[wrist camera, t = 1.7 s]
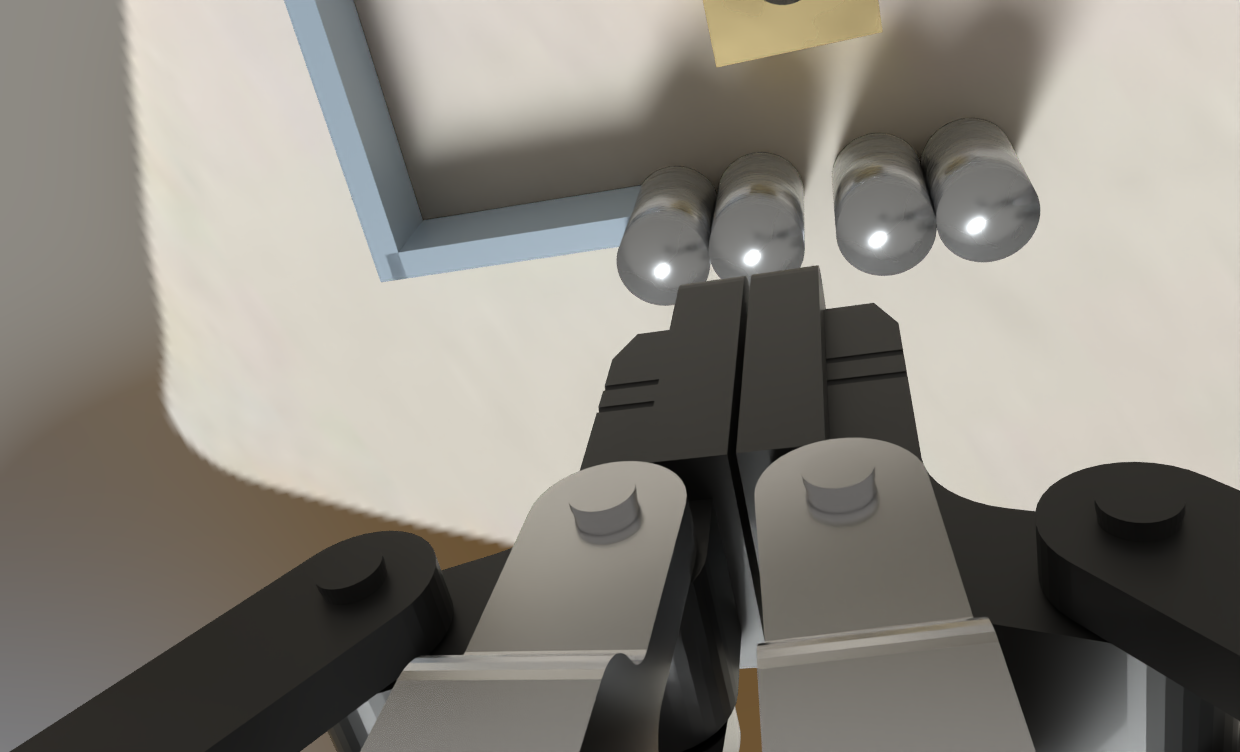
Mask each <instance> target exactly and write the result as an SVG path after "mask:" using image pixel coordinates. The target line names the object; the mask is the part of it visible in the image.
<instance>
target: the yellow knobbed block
mask: <svg viewBox="0 0 1240 752" xmlns="http://www.w3.org/2000/svg"><path fill="white" fill-rule="evenodd" d="M703 4H704V9H705V14H706V18H707V23H708V28H709V33H710V38H711V43H712V48H713V53H714V57H715V62H716V67H722V66H726V65H731V64H736V63H740V62H745V61H750V60H754V59H759V58H764V57H769V56H773V55H778V54H783V53H787V52H792V51H797V50H801V49H806V48H811V47H815V46H820V45H825V44H829V43H834V42H839V41H844V40H848V39H853V38H858V37H862V36H867V35H872V34H876V33H881V32H882V25H881V17H880V10H879V2H878V0H703Z"/></svg>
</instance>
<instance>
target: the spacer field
mask: <svg viewBox="0 0 1240 752" xmlns="http://www.w3.org/2000/svg"><path fill="white" fill-rule="evenodd" d="M832 186H833V199H834V212H835V225H836V237H837V243H838V246H839V249H840V251H841V253H842V255H843V256H844V257H845V259H846V260H847V261H848V262H849V263H850V264H851V265H853V266H854V267H855V268H857V269H859V270H860V271H863V272H865V273H868V274H872V275H878V276H888V275H895V274H899V273H902V272H905V271H907V270H909V269H911V268H913V267H914V266H916V265H917V264H918V263H920V262H921V261H922V260H923V259H924V258H925V256H926V255H927V254H928V253H929V251H930V249H931V248H932V245H933V243H934V240H935V237H936V227H937V230H938V233H939V236H940V238H941V240H942V242H943V243H944V244H945V246H946V247H947V248H948V249H949V250H950V251H951V252H953V253H954V254H956V255H957V256H959V257H961V258H963V259H966V260H970V261H975V262H992V261H997V260H1000V259H1003V258H1006V257H1008V256H1010V255H1012V254H1014V253H1015V252H1017V251H1018V250H1020V249H1021V248H1022V247H1023V246H1024V245H1025V244H1026V243H1027V242H1028V241H1029V240H1030V239H1031V237H1032V235H1033V234H1034V232H1035V230H1036V228H1037V225H1038V222H1039V218H1040V203H1039V199H1038V196H1037V194H1036V192H1035V190H1034V188H1033V186H1032V184H1031V182H1030V180H1029V178H1028V176H1027V174H1026V172H1025V170H1024V168H1023V166H1022V165H1021V163H1020V161H1019V159H1018V157H1017V155H1016V153H1015V151H1014V149H1013V147H1012V145H1011V143H1010V141H1009V139H1008V138H1007V136H1006V135H1005V133H1004V132H1003V131H1002V130H1001V129H1000V128H999V127H997V126H996V125H994V124H993V123H991V122H988V121H986V120H982V119H977V118H966V119H960V120H956V121H953V122H951V123H949V124H947V125H945V126H943V127H942V128H940V129H939V130H938V131H937V132H935V134H934V135H933V136H932V137H931V138H930V139H929V141H928V142H927V144H926V146H925V148H924V150H923V153H922V157H921V165H920V162H919V159H918V157H917V155H916V153H915V151H914V150H913V148H912V147H911V146H910V145H909V144H908V143H906V142H905V141H904V140H902V139H900V138H898V137H896V136H893V135H890V134H884V133H875V134H869V135H865V136H862V137H859V138H857V139H855V140H854V141H852V142H851V143H849V144H848V145H847V146H846V147H845V148H844V149H843V150H842V151H841V152H840V154H839V155H838V157H837V159H836V161H835V163H834V166H833V171H832ZM804 250H805V244H804V189H803V183H802V180H801V177H800V175H799V173H798V172H797V170H796V169H795V168H794V167H793V165H792V164H791V163H789V162H788V161H787V160H785V159H784V158H782V157H780V156H777V155H774V154H771V153H752V154H748V155H745V156H743V157H741V158H739V159H737V160H736V161H734V162H733V163H732V164H731V165H730V166H729V167H728V168H727V169H726V171H725V172H724V174H723V175H722V178H721V180H720V183H719V188H718V193H716V191H715V189H714V187H713V185H712V184H711V183H710V181H709V180H708V179H707V178H706V177H704V176H703V175H702V174H700V173H699V172H697V171H695V170H692V169H690V168H686V167H676V166H674V167H667V168H663V169H661V170H658V171H656V172H654V173H653V174H651V175H650V176H649V177H648V178H647V179H646V180H645V181H644V182H643V184H642V185H641V188H640V191H639V194H638V197H637V200H636V203H635V206H634V209H633V211H632V214H631V217H630V219H629V221H628V223H627V226H626V228H625V231H624V234H623V237H622V240H621V243H620V246H619V249H618V253H617V268H618V272H619V276H620V278H621V280H622V282H623V283H624V285H625V286H626V287H627V289H628V290H629V291H630V292H631V293H632V294H634V295H635V296H636V297H638V298H640V299H641V300H643V301H646V302H648V303H651V304H655V305H665V306H666V305H675V302H676V297H677V293H678V288H679V286H680V285H683V284H691V283H698V282H705V281H706V280H707V278H708V275H709V270H710V263H711V264H712V267H713V269H714V270H715V272H716V273H717V275H718V276H719V277H720V278H721V279H726V278H733V277H741V276H746V277H747V279H748V282H749V285H750V281H751V275H753V274H761V273H768V272H775V271H782V270H789V269H796V268H800V267H801V264H802V261H803V258H804Z"/></svg>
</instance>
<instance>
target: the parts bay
mask: <svg viewBox="0 0 1240 752" xmlns="http://www.w3.org/2000/svg"><path fill="white" fill-rule="evenodd" d="M284 1H285V4H286V7H287V10H288V13H289V16H290V19H291V22H292V25H293V28H294V31H295V34H296V36H297V39H298V42H299V45H300V48H301V51H302V54H303V57H304V60H305V63H306V66H307V68H308V71H309V74H310V77H311V80H312V83H313V86H314V89H315V92H316V95H317V98H318V100H319V103H320V106H321V109H322V112H323V115H324V118H325V121H326V124H327V127H328V130H329V133H330V135H331V138H332V141H333V144H334V147H335V150H336V153H337V156H338V159H339V162H340V165H341V167H342V170H343V173H344V176H345V179H346V182H347V185H348V188H349V191H350V194H351V197H352V200H353V202H354V205H355V208H356V211H357V214H358V217H359V220H360V223H361V226H362V229H363V232H364V234H365V237H366V240H367V243H368V246H369V249H370V252H371V255H372V258H373V261H374V264H375V266H376V269H377V272H378V275H379V278H380V281H381V282H386V281H392V280H399V279H406V278H413V277H419V276H426V275H433V274H439V273H446V272H453V271H459V270H466V269H473V268H479V267H486V266H493V265H499V264H506V263H513V262H520V261H526V260H533V259H540V258H546V257H553V256H560V255H566V254H573V253H580V252H586V251H593V250H600V249H606V248H613V247H619V246H620V243H621V240H622V237H623V234H624V231H625V228H626V226H627V223H628V221H629V219H630V217H631V214H632V211H633V209H634V206H635V203H636V200H637V197H638V194H639V191H640V188H641V185H640V186H634V187H628V188H622V189H615V190H609V191H603V192H597V193H591V194H584V195H578V196H572V197H566V198H560V199H553V200H547V201H541V202H535V203H529V204H522V205H516V206H510V207H504V208H498V209H491V210H485V211H479V212H473V213H467V214H460V215H454V216H448V217H442V218H436V219H429V220H423V219H422V216H421V213H420V210H419V207H418V204H417V200H416V197H415V194H414V191H413V188H412V185H411V181H410V178H409V175H408V172H407V169H406V165H405V162H404V159H403V156H402V153H401V150H400V146H399V143H398V140H397V137H396V134H395V131H394V127H393V124H392V121H391V118H390V115H389V112H388V108H387V105H386V102H385V99H384V96H383V93H382V89H381V86H380V83H379V80H378V77H377V74H376V70H375V67H374V64H373V61H372V58H371V55H370V51H369V48H368V45H367V42H366V39H365V36H364V32H363V29H362V26H361V23H360V20H359V17H358V13H357V10H356V7H355V4H354V1H353V0H284Z"/></svg>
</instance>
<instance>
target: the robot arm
mask: <svg viewBox="0 0 1240 752" xmlns="http://www.w3.org/2000/svg"><path fill="white" fill-rule="evenodd" d="M755 667H757V673H758V688H759V705H760V721H761V737H762V752H1240V491H1239V490H1237V489H1235V488H1232V487H1230V486H1228V485H1225V484H1223V483H1221V482H1218V481H1216V480H1213V479H1211V478H1209V477H1206V476H1204V475H1201V474H1198V473H1196V472H1193V471H1190V470H1187V469H1183V468H1179V467H1175V466H1170V465H1164V464H1157V463H1145V462H1120V463H1111V464H1103V465H1098V466H1094V467H1090V468H1086V469H1083V470H1080V471H1077V472H1074V473H1072V474H1070V475H1068V476H1066V477H1064V478H1062V479H1060V480H1059V481H1057V482H1056V483H1055V484H1053V485H1052V486H1050V487H1049V488H1048V490H1047V491H1046V492H1045V493H1044V494H1043V495H1042V497H1041V498H1040V500H1039V502H1038V504H1037V508H1036V512H1035V511H1026V510H1017V509H1008V508H1002V507H995V506H989V505H985V504H982V503H978V502H974V501H971V500H969V499H966V498H963V497H960V496H958V495H956V494H954V493H953V492H951V491H949V490H947V489H946V488H944V487H943V486H941V485H940V484H939V483H937V482H936V481H935V480H934V479H933V478H932V477H931V476H930V475H929V473H928V472H927V470H926V468H925V466H924V464H923V461H922V458H921V453H920V447H919V441H918V435H917V429H916V423H915V418H914V412H913V406H912V400H911V394H910V388H909V383H908V377H907V371H906V365H905V359H904V354H903V348H902V342H901V336H900V330H899V324H898V322H896V321H895V320H894V319H893V318H892V317H890V316H889V315H888V314H887V313H885V312H884V311H883V310H882V309H881V308H879V307H878V306H877V305H876V304H875V303H870V304H862V305H855V306H847V307H840V308H832V309H826V307H825V300H824V293H823V286H822V279H821V274H820V269H819V265H818V266H811V267H803V268H796V269H789V270H782V271H775V272H768V273H761V274H753V275H751V281H750V285H749V282H748V279H747V277H746V276H741V277H733V278H726V279H719V280H712V281H705V282H698V283H691V284H683V285H680V286H679V288H678V293H677V297H676V302H675V307H674V311H673V316H672V321H671V326H670V330H666V331H658V332H651V333H643V334H637V335H636V336H635V337H634V338H633V339H632V340H631V341H630V342H629V343H628V344H627V345H626V346H625V347H624V348H623V349H622V350H621V351H620V352H619V353H618V354H617V355H616V356H615V358H614V359H613V360H612V363H611V366H610V370H609V373H608V377H607V380H606V383H605V391H603V394H602V397H601V400H600V404H599V413H597V414H596V418H595V421H594V424H593V428H592V431H591V435H590V438H589V441H588V445H587V448H586V452H585V455H584V458H583V462H582V465H581V469H580V471H579V472H576V473H574V474H571V475H570V476H568V477H566V478H564V479H562V480H560V481H559V482H557V483H556V484H554V485H553V486H551V487H550V488H549V489H547V490H546V491H545V492H544V493H543V494H542V495H541V496H540V497H539V498H538V499H537V500H536V502H535V503H534V504H533V506H532V508H531V509H530V511H529V513H528V515H527V517H526V520H525V522H524V524H523V526H522V528H521V531H520V533H519V535H518V537H517V539H516V542H515V544H514V546H513V547H512V548H510V549H508V550H505V551H502V552H500V553H497V554H494V555H491V556H487V557H484V558H481V559H478V560H475V561H471V562H468V563H464V564H461V565H458V566H455V567H451V568H448V569H445V570H441V569H440V566H439V563H438V561H437V558H436V555H435V552H434V550H433V548H432V547H431V545H430V544H429V543H428V542H427V541H426V540H424V539H423V538H422V537H419V536H417V535H415V534H412V533H407V532H401V531H381V532H374V533H368V534H363V535H360V536H356V537H352V538H350V539H347V540H345V541H341V542H339V543H337V544H335V545H332V546H331V547H328V548H326V549H325V550H323V551H321V552H319V553H318V554H316V555H314V556H313V557H311V558H309V559H308V560H306V561H305V562H303V563H302V564H300V565H299V566H297V567H296V568H294V569H292V570H291V571H289V572H288V573H286V574H285V575H283V576H282V577H280V578H278V579H277V580H275V581H274V582H272V583H271V584H269V585H268V586H266V587H264V588H263V589H261V590H260V591H258V592H257V593H255V594H254V595H252V596H251V597H249V598H247V599H246V600H244V601H243V602H241V603H240V604H238V605H237V606H235V607H234V608H232V609H230V610H229V611H227V612H226V613H224V614H223V615H221V616H219V617H218V618H216V619H215V620H213V621H212V622H210V623H209V624H207V625H206V626H204V627H202V628H201V629H199V630H198V631H196V632H195V633H193V634H192V635H190V636H188V637H187V638H185V639H184V640H182V641H181V642H179V643H178V644H176V645H175V646H173V647H171V648H170V649H168V650H167V651H165V652H164V653H162V654H161V655H159V656H157V657H156V658H154V659H153V660H151V661H150V662H148V663H147V664H145V665H144V666H142V667H141V668H139V669H137V670H136V671H134V672H133V673H131V674H130V675H128V676H126V677H125V678H123V679H122V680H120V681H119V682H117V683H116V684H114V685H113V686H111V687H109V688H108V689H106V690H105V691H103V692H102V693H100V694H99V695H97V696H95V697H94V698H92V699H91V700H89V701H88V702H86V703H85V704H83V705H82V706H80V707H78V708H77V709H75V710H74V711H72V712H71V713H69V714H68V715H66V716H65V717H63V718H61V719H60V720H58V721H57V722H55V723H54V724H52V725H51V726H49V727H47V728H46V729H44V730H43V731H41V732H40V733H38V734H37V735H35V736H33V737H32V738H30V739H29V740H27V741H26V742H24V743H23V744H21V745H20V746H18V747H16V748H15V749H13V750H12V751H10V752H300V751H301V750H303V749H304V748H305V747H307V746H308V745H309V744H311V743H312V742H313V741H315V740H316V739H317V738H318V737H320V736H321V735H323V734H324V733H325V732H328V734H329V735H330V738H331V740H332V742H333V744H334V747H335V749H336V751H337V752H739V747H740V727H739V723H738V718H737V714H736V709H735V705H736V701H737V695H738V681H739V668H755Z"/></svg>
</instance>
